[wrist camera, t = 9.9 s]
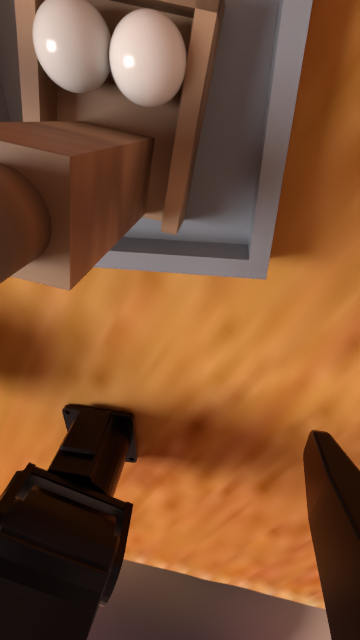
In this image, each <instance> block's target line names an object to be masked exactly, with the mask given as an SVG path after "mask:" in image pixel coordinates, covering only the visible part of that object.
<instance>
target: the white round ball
mask: <svg viewBox="0 0 360 640" xmlns="http://www.w3.org/2000/svg"><path fill="white" fill-rule="evenodd" d="M32 34H33V44H34V49H35V52H36V55H37V58H38V60H39V62H40V64H41V66H42V68H43V69H44V71H45V72H46V74H47V75H48V76H49V77H50V78H51V79H52V80H53V81H54V82H55V83H56V84H57V85H59V86H60V87H62V88H63V89H65V90H67V91H70V92H74V93H88V92H92V91H94V90H96V89H97V88H99V87H100V86H101V85H102V84H103V83H104V82H105V80H106V79H107V77H108V75H109V73H110V71H111V68H110V62H109V49H110V42H111V34H110V32H109V29H108V26H107V24H106V22H105V20H104V19H103V17H102V15H101V14H100V13H99V11H98V10H97V9H96V8H95V7H94V6H93V5H92V4H91V3H90V2H89V1H87V0H45V1H44V2H43V3H42V4H41V5H40V7H39V8H38V10H37V12H36V15H35V18H34V22H33V33H32Z"/></svg>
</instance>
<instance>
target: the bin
mask: <svg viewBox="0 0 360 640" xmlns="http://www.w3.org/2000/svg"><path fill="white" fill-rule="evenodd" d="M312 2H313V0H225V11H224V16H223V21H222V26H221V31H220V36H219V42H218V47H217V52H216V57H215V62H214V68H213V73H212V78H211V83H210V88H209V93H208V99H207V104H206V109H205V114H204V119H203V124H202V130H201V135H200V140H199V145H198V150H197V156H196V161H195V166H194V171H193V176H192V181H191V187H190V192H189V197H188V202H187V207H186V213H185V218H184V221H183V223H182V225H181V227H180V229H179V231H178V232H177V234H176V235H174V234H170V233H166V232H161V224H162V221H158V220H153V219H149V218H145V217H142V218H141V219H140V220H139V221H138V222H137V223H136V224H135V225H134V226H133V227H132V228H131V229H130V230H129V231H128V232H127V233H126V234H125V235H124V236H123V237H122V238H121V239H120V240H119V241H118V242H117V243H116V244H115V245H114V246H113V247H112V248H111V249H110V250H109V251H108V252H107V253H106V254H105V255H104V256H103V257H102V258H101V259H100V260H99V262H98V263H97V264H96V265H95V266H94V267H101V268H115V269H128V270H142V271H156V272H170V273H183V274H197V275H211V276H224V277H238V278H252V279H265V280H266V277H267V271H268V265H269V259H270V253H271V247H272V241H273V235H274V229H275V223H276V217H277V211H278V205H279V199H280V193H281V187H282V181H283V175H284V169H285V163H286V157H287V152H288V146H289V140H290V134H291V128H292V122H293V116H294V110H295V104H296V98H297V92H298V86H299V80H300V74H301V68H302V62H303V56H304V50H305V44H306V38H307V32H308V26H309V20H310V14H311V8H312ZM0 122H23V115H22V100H21V86H20V71H19V57H18V43H17V28H16V14H15V0H0Z"/></svg>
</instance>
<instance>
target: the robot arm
mask: <svg viewBox="0 0 360 640" xmlns="http://www.w3.org/2000/svg"><path fill="white" fill-rule="evenodd" d="M62 412H63V416H64V420H65V424H66V428H67V432H68V433H67V434H66V436H65V438H64V440H63V442H62V444H61V445H60V448H59V450H58V452H57V453H56V455H55V457H54V459H53V461H52V463H51V465H50V466H49V468H48V470H47V471H46V470H44V469H41V468H39V467H36V465H35V464H32V463H30V462H29V463H28V465H27V466H26V468H25V469H24V470H23V471H17V472H16V473H15V475H14V476H13V478H12V479H11V481H10V483H9V484H8V486H7V487H6V489H5V490H4V492H3V493H2V494H1V496H0V640H86V639H87V637H88V634H89V632H90V629H91V626H92V623H93V620H94V618H95V615H96V612H97V609H98V606H99V605H100V606H105V605H106V603H107V602H108V600H109V598H110V596H111V594H112V592H113V589H114V587H115V584H116V581H117V579H118V576H119V572H120V569H121V566H122V562H123V558H124V553H125V548H126V542H127V537H128V531H129V525H130V519H131V514H132V508H133V504H132V503H129V502H123V501H121V500H118V499H116V498H113V497H114V494H115V490H116V487H117V484H118V481H119V478H120V475H121V472H122V469H123V466H124V463H125V462H132V463H134V462H136V461H137V458H138V453H137V442H136V431H135V420H134V416H133V415H132V414H131V413H126V412H119V411H111V410H103V409H95V408H88V407H80V406H72V405H66V406H65V407H64V408H63V410H62ZM303 461H304V473H305V485H306V497H307V508H308V518H309V525H310V531H311V536H312V541H313V546H314V551H315V556H316V561H317V567H318V572H319V577H320V582H321V587H322V592H323V597H324V603H325V608H326V613H327V618H328V623H329V628H330V633H331V639H332V640H360V471H359V469H358V468H357V467H356V466H355V464H354V463H353V462H352V461H351V459H350V458H349V457H348V456H347V455H346V453H345V452H344V451H343V450H342V448H341V447H340V446H339V445H338V443H337V442H336V441H335V440H334V438H333V437H332V436H331V435H330V434H329V433H328V432H325V431H317V430H312V431H311V432H310V434H309V436H308V439H307V442H306V445H305V448H304V453H303Z"/></svg>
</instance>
